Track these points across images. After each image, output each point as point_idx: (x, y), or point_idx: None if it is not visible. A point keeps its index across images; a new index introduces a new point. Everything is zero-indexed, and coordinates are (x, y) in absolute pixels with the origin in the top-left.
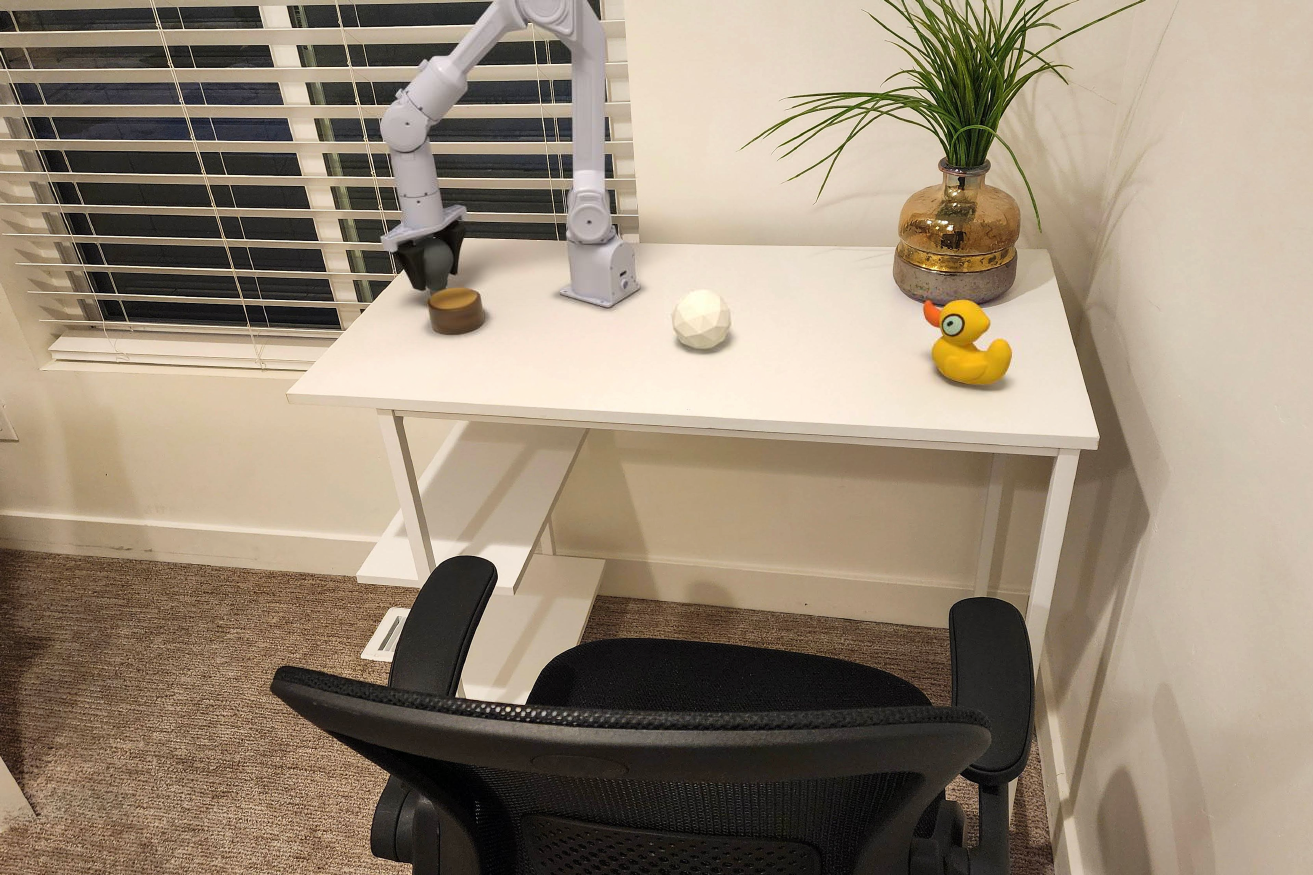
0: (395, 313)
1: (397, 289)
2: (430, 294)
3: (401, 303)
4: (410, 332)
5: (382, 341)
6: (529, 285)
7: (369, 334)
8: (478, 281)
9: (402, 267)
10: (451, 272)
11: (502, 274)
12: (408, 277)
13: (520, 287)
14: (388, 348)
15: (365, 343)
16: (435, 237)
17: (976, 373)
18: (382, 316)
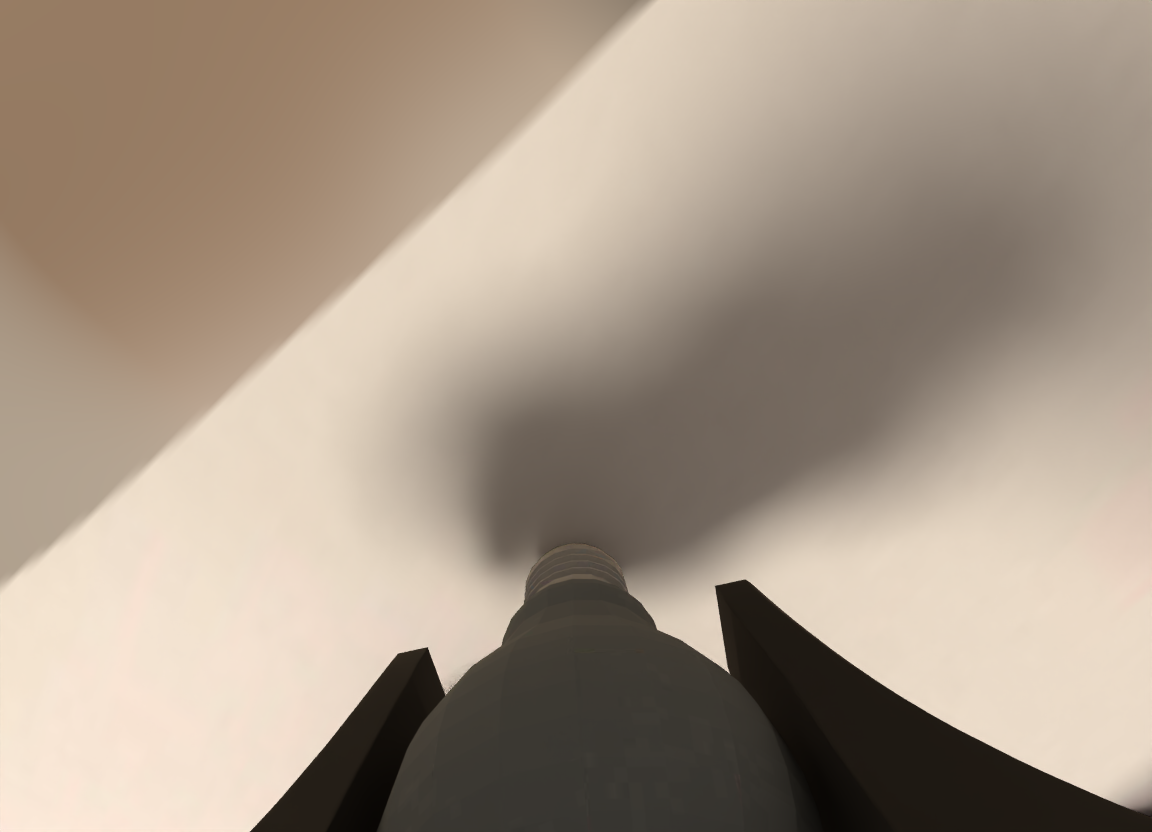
0: (307, 508)
1: (470, 181)
2: (532, 578)
3: (393, 413)
4: (289, 735)
5: (134, 729)
6: (997, 696)
7: (92, 629)
8: (893, 478)
9: (265, 819)
10: (730, 656)
11: (1040, 496)
12: (348, 721)
13: (956, 686)
14: (141, 796)
15: (48, 696)
16: (890, 829)
17: None
18: (225, 490)
